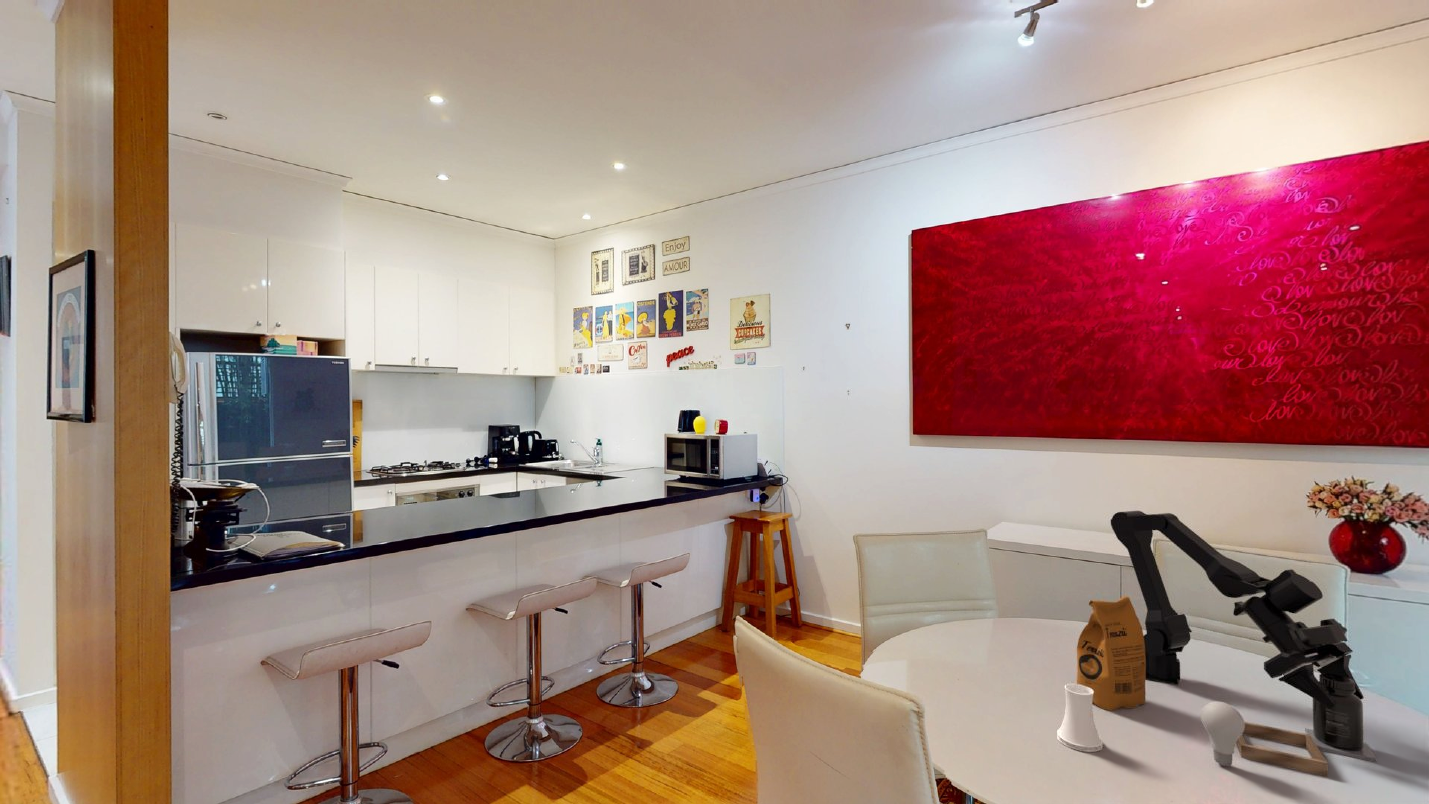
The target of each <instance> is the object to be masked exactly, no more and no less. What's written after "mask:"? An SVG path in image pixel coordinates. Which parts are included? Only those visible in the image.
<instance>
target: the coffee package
mask: <svg viewBox="0 0 1429 804" xmlns="http://www.w3.org/2000/svg"><path fill="white" fill-rule="evenodd" d="M1130 599H1131V598H1130V597H1129V596H1127V595H1126V596H1125V595H1124V596H1122V597H1121V598H1120V599H1118V600H1117V601H1104V600H1094V599H1091V600H1090V601H1089V602H1088V605H1089V607H1092V608H1091V609H1092V611H1093V612H1092V613H1091V614H1090V617H1089V619H1088V622H1087V624H1086V625H1085V626H1084V628H1083V629H1082V631H1081V633H1080V634H1079V637H1078V640H1077V645H1076V660H1077V662H1076V664H1077V668H1076V669H1077V671H1076V684H1079V685H1083V686H1086V687H1089V688H1091V689H1092V690H1093V691H1094V693H1093V701H1092V704H1094V705H1095V706H1096V707H1098V708H1101V709H1104V710H1106V711H1109V712H1111V711H1114V710H1117V709H1119V708H1126V709H1135V708H1137V707H1138V706H1139V705H1143V704H1146V694H1147V693H1146V680H1147V679H1146V672H1145V671H1146V658H1145V644H1144V631H1143V627H1142V624H1141V622H1140V619H1139V617H1138V616H1137V613H1136V610H1135V608H1134V606H1133V604H1132V601H1131V600H1130Z"/></svg>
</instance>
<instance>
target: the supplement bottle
mask: <svg viewBox="0 0 1429 804" xmlns="http://www.w3.org/2000/svg"><path fill="white" fill-rule="evenodd" d="M1318 677H1319V680H1318V681H1319V683H1320V684H1321V685H1322V686H1323V688H1324V689H1325V690H1326V692H1327V693H1328V694H1329V696H1330V697H1331V698H1332V700H1333V701H1334V703H1335V704H1336V706H1335V707H1333V708H1329V707H1327V706H1326V705H1324V704H1322V703H1321V702H1319V701H1317V700H1316V699H1314V698H1312V730H1313V733H1314V736H1315V737H1316V738H1317V739H1318V740H1319V741H1321V742H1323V743H1325V744H1327V745H1330V746H1333V747H1336V748H1340V749H1345V750H1353V751H1356V750H1361V749H1362V748H1363V746H1364V743H1365V740H1364V737H1365V736H1364V735H1365V734H1364V704H1363V701H1362V699H1360V698H1359V697H1358V696H1356V695H1355V694H1353V693H1355V682H1356V681H1355V682H1354V681H1353V680H1351V679H1349V678H1347V677H1343V676H1340V675H1335V674H1327V673H1324V674H1321V673H1319V676H1318Z"/></svg>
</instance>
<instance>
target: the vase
mask: <svg viewBox="0 0 1429 804" xmlns="http://www.w3.org/2000/svg"><path fill="white" fill-rule="evenodd" d="M1064 692H1065V711H1064V716H1063V720H1062V723H1061V726H1060V728H1058V729H1057V731H1056V734H1057V735H1056V739H1057V740H1058V742H1060V743H1061V744H1062V745H1064V746H1066V747H1068V748H1070V749H1073V750H1077V751H1080V752H1088V753H1089V752H1090V753H1094V752H1095V753H1096V752H1099V751H1102V749H1103V747H1104V745H1103V739H1102V738H1101V737H1100V735H1099V733H1098V729H1097V727H1096V723H1095V718H1094V711H1093V703H1092V701H1093V693H1094V691H1093V690H1092V689H1091V688H1089V687H1086V686H1083V685H1079V684H1077V683H1067V684H1065V685H1064Z"/></svg>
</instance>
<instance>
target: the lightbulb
mask: <svg viewBox="0 0 1429 804" xmlns="http://www.w3.org/2000/svg"><path fill="white" fill-rule="evenodd" d="M1200 720H1201V722H1202V725H1203V726H1204V728H1205V730H1206V731H1207V733H1208V736H1209V739H1210V742H1211V743H1210V744H1211V748H1212V751H1213V759H1214V761H1215V762H1216V763H1217V764H1219V766H1221V767H1227V766H1228V767H1229V766H1231V765H1232V764H1233V756H1234V755H1233V754H1234V753H1235V747H1236V742H1237V740H1238V739H1239V738H1240V736H1241V735H1242V736H1243V734H1242V733H1243V732H1244V728H1245V724H1244V722H1245V720H1244V717H1243V716H1242V714H1241V713H1240V711H1238V709H1236V708H1235V707H1234V706H1233V705H1230V704H1229V703H1227V702H1223V701H1211V702H1208V703H1206V704H1205V705H1204V706H1203V707H1202V709H1201V711H1200Z"/></svg>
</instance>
